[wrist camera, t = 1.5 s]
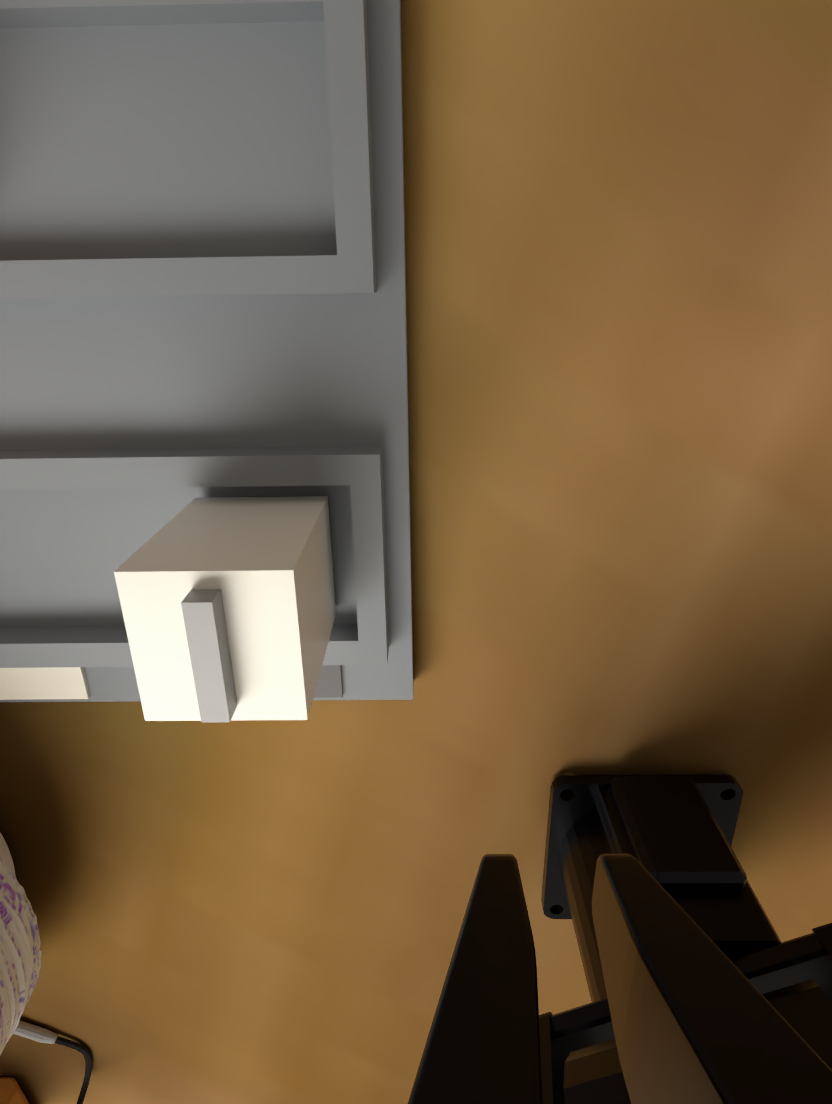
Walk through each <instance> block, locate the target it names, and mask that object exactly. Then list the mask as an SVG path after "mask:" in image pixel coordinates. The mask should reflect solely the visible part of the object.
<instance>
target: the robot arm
mask: <svg viewBox="0 0 832 1104" xmlns="http://www.w3.org/2000/svg"><path fill="white" fill-rule="evenodd" d="M567 789H569V790H570V791H569V792H566V793H563V792H562V791H564V790H567ZM725 789H728V790H727V791H724V790H725ZM722 791H724V792H722ZM742 795H743V790H742V788H741V787H740V785H739V784H738V782H737V781H736V779H735V778H734V777H732V776H730V775H581V776H560V777H558V778H556V779H555V780H554V781H553V782H552V785H551V790H550V802H549V814H548V826H547V839H546V851H545V863H544V875H543V888H542V906H543V911H544V914H545V915H546V916H547V917H549V918H552V919H572V921H573V925H574V929H575V933H576V938H577V942H578V946H579V950H580V954H581V959H582V963H583V967H584V971H585V975H586V979H587V984H588V988H589V992H590V996H591V1000H592V1003H589V1004H586V1005H583V1006H580V1007H576V1008H573V1009H570V1010H567V1011H564V1012H561V1013H557V1014H554V1015H552V1013H551V1012H548V1013H545V1014H542V1015H539V1011H538V989H537V967H536V956H535V947H534V941H533V935H532V930H531V926H530V921H529V916H528V911H527V907H526V902H525V897H524V892H523V888H522V883H521V878H520V873H519V869H518V864H517V860H516V858H515V857H514V856H513V855H511V854H487V855H485V856H484V857H483V858H482V860H481V863H480V866H479V870H478V873H477V876H476V880H475V883H474V886H473V889H472V893H471V896H470V899H469V903H468V906H467V909H466V913H465V916H464V919H463V923H462V926H461V929H460V933H459V936H458V939H457V943H456V946H455V949H454V952H453V956H452V959H451V962H450V966H449V969H448V972H447V976H446V979H445V982H444V986H443V989H442V992H441V996H440V999H439V1002H438V1005H437V1009H436V1012H435V1015H434V1019H433V1022H432V1025H431V1029H430V1032H429V1035H428V1039H427V1042H426V1045H425V1049H424V1052H423V1055H422V1058H421V1062H420V1065H419V1068H418V1072H417V1075H416V1078H415V1082H414V1085H413V1088H412V1092H411V1095H410V1098H409V1102H408V1104H832V923H829V924H826V925H823V926H820V927H817V928H813V929H812V931H813V933H811V934H808V935H805V936H802V937H798V938H795V939H792V940H789V941H786V942H783V943H781V941H780V939H779V937H778V935H777V933H776V932H775V930H774V928H773V926H772V924H771V923H770V921H769V919H768V917H767V915H766V914H765V912H764V910H763V908H762V906H761V904H760V903H759V901H758V899H757V897H756V895H755V894H754V892H753V890H752V888H751V886H750V885H749V883H748V881H747V877H746V873H745V872H744V870H743V868H742V866H741V864H740V863H739V861H738V859H737V857H736V855H735V854H734V852H733V850H732V848H731V844H732V839H733V835H734V831H735V826H736V822H737V817H738V813H739V808H740V804H741V800H742Z"/></svg>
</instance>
